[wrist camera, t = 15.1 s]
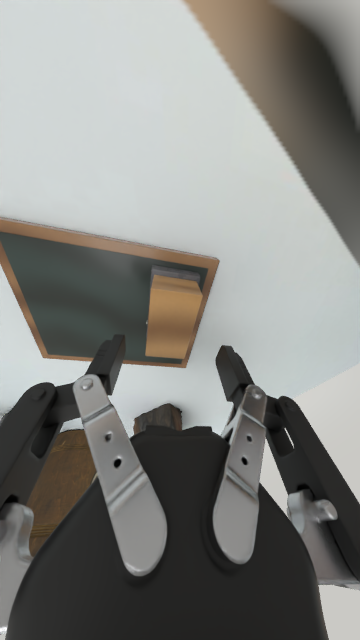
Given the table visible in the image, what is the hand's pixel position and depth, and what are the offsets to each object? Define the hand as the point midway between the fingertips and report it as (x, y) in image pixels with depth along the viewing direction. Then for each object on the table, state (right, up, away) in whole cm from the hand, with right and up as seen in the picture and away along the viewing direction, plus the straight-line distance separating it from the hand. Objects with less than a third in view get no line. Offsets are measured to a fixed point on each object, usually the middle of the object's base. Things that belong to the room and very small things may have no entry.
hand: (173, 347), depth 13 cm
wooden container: (-27, -32, +31) cm, 52 cm away
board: (-8, +3, +8) cm, 12 cm away
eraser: (-1, +4, +6) cm, 8 cm away
